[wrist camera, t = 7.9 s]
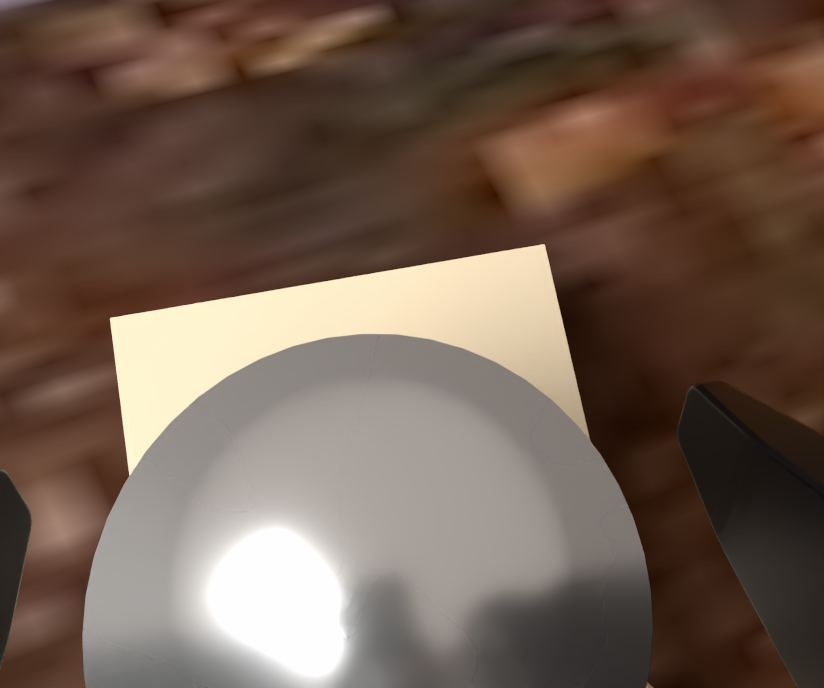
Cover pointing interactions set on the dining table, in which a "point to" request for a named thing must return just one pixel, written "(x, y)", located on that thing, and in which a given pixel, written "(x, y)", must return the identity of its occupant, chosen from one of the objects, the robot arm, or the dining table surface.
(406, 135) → the dining table surface
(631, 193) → the dining table surface
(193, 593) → the tube
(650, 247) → the dining table surface
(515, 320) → the collar
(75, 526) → the dining table surface
